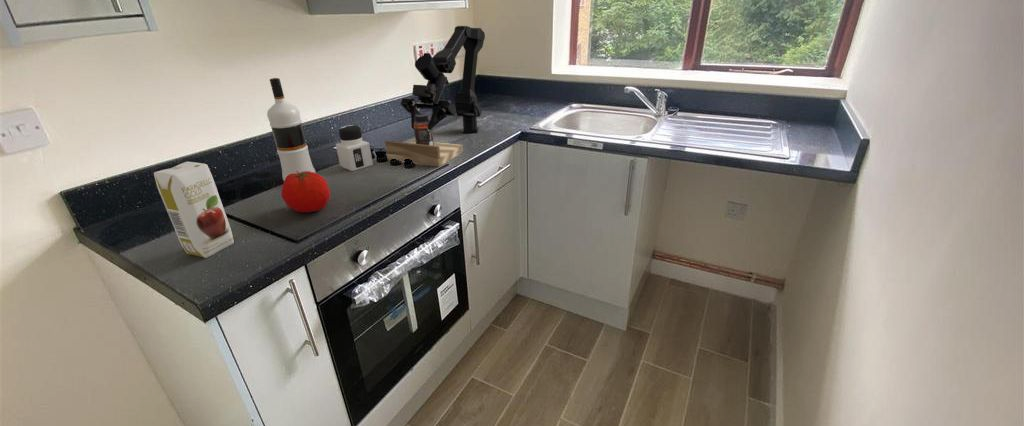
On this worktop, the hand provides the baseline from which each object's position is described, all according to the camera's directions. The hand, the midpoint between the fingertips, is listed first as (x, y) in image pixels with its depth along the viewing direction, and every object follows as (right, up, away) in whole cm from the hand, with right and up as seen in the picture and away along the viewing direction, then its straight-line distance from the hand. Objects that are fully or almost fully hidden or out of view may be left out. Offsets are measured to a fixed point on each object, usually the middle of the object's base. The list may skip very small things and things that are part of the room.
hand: (420, 129), depth 146 cm
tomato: (-22, -27, -31) cm, 47 cm away
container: (-21, -13, -1) cm, 24 cm away
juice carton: (-37, -36, -48) cm, 70 cm away
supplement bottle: (+1, -6, +4) cm, 7 cm away
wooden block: (+1, -8, +5) cm, 10 cm away
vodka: (-34, -18, -11) cm, 40 cm away
